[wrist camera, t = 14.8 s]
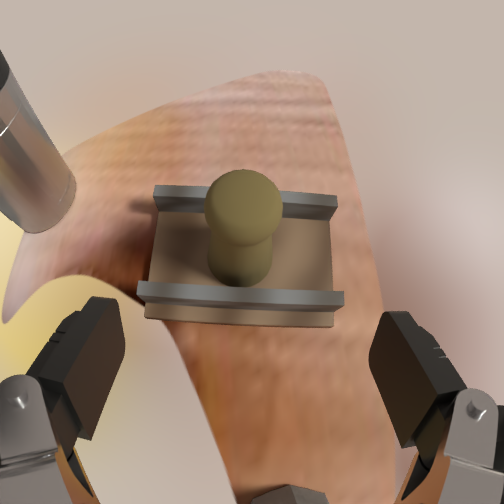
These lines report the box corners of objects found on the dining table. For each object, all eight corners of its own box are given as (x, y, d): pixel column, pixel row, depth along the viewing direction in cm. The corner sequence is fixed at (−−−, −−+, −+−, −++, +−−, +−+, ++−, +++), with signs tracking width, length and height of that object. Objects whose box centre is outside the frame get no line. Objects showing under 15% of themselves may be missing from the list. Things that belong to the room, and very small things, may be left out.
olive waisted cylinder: (199, 237, 30) (184, 168, 20) (259, 219, 31) (272, 146, 21) (218, 297, 28) (210, 251, 18) (282, 276, 29) (308, 222, 19)
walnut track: (146, 318, 28) (134, 310, 24) (164, 195, 33) (157, 173, 29) (330, 327, 29) (344, 320, 25) (325, 204, 34) (335, 184, 30)
